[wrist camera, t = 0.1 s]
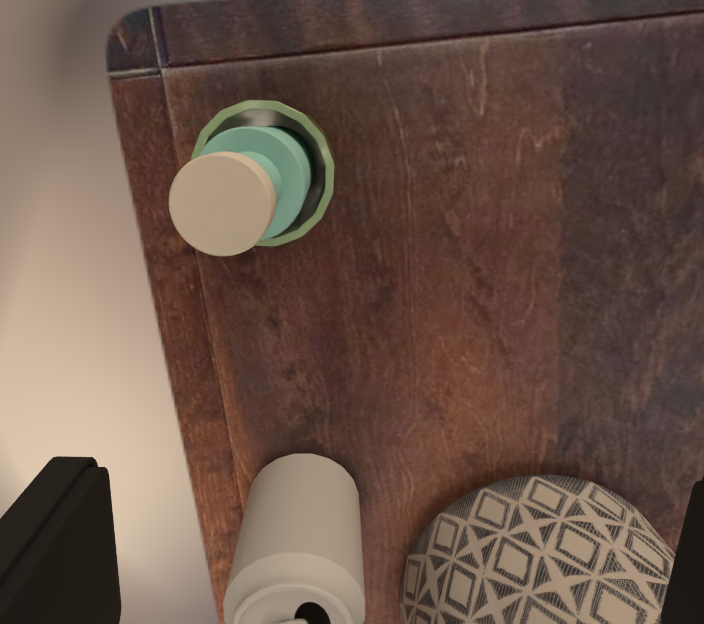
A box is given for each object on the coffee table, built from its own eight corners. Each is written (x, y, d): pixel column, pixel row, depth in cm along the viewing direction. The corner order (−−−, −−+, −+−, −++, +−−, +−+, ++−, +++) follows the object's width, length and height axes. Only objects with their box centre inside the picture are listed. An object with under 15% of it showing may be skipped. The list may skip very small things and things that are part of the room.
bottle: (236, 123, 33) (139, 124, 17) (315, 127, 33) (296, 131, 17) (237, 203, 34) (148, 276, 18) (314, 206, 34) (294, 281, 18)
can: (366, 530, 42) (377, 684, 30) (262, 546, 42) (234, 704, 31) (349, 438, 40) (355, 566, 28) (239, 455, 40) (200, 588, 28)
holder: (217, 102, 33) (187, 96, 26) (336, 107, 33) (336, 103, 27) (220, 220, 35) (193, 243, 28) (332, 224, 35) (331, 248, 29)
